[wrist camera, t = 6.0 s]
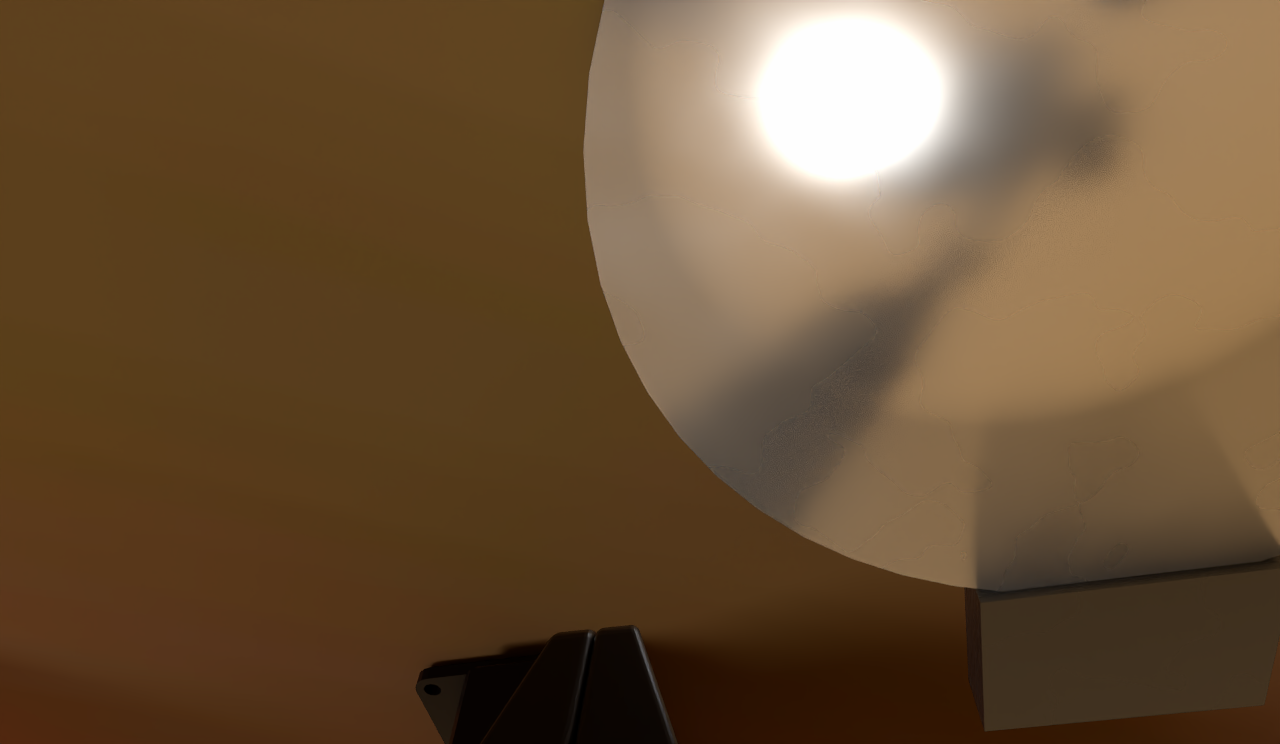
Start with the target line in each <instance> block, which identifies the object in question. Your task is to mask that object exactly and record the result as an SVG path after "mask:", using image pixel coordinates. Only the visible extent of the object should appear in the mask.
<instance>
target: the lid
mask: <svg viewBox="0 0 1280 744" xmlns="http://www.w3.org/2000/svg"><path fill="white" fill-rule="evenodd" d="M584 165H585V182H586V199H587V215H588V224H589V229H590V234H591V239H592V244H593V249H594V254H595V259H596V264H597V269H598V274H599V279H600V284H601V287H602V289H603V292H604V295H605V298H606V301H607V304H608V306H609V309H610V312H611V315H612V318H613V321H614V323H615V326H616V329H617V332H618V335H619V337H620V340H621V343H622V345H623V346H624V348H625V350H626V352H627V354H628V356H629V358H630V360H631V362H632V364H633V366H634V367H635V369H636V371H637V373H638V375H639V377H640V379H641V381H642V383H643V385H644V387H645V388H646V390H647V392H648V394H649V395H650V396H651V398H652V399H653V401H654V402H655V403H656V405H657V406H658V408H659V409H660V410H661V412H662V413H663V415H664V416H665V417H666V419H667V420H668V421H669V423H670V424H671V426H672V427H673V428H674V430H675V431H676V433H677V434H678V435H679V437H680V438H681V439H682V440H683V441H684V442H685V443H686V444H687V445H688V446H689V447H690V448H691V449H692V451H693V452H694V453H695V454H696V455H697V456H698V457H699V458H700V459H701V460H702V461H703V462H704V463H705V464H706V465H707V466H708V467H709V468H710V469H711V470H712V471H713V473H714V474H715V475H716V476H717V477H719V478H720V479H721V480H722V481H724V482H725V483H726V484H727V485H729V486H730V487H731V488H732V489H734V490H735V491H736V492H737V493H739V494H740V495H741V496H742V497H744V498H745V499H746V500H747V501H749V502H750V503H751V504H752V505H754V506H755V507H756V508H757V509H759V510H760V511H762V512H764V513H765V514H767V515H769V516H770V517H772V518H774V519H775V520H777V521H778V522H780V523H782V524H783V525H785V526H787V527H788V528H790V529H792V530H793V531H795V532H797V533H798V534H800V535H801V536H803V537H805V538H808V539H810V540H812V541H814V542H816V543H818V544H821V545H823V546H825V547H827V548H829V549H832V550H834V551H836V552H838V553H840V554H843V555H845V556H847V557H849V558H852V559H855V560H858V561H861V562H864V563H867V564H870V565H873V566H876V567H879V568H882V569H885V570H888V571H891V572H894V573H898V574H901V575H905V576H909V577H914V578H919V579H924V580H928V581H933V582H938V583H942V584H947V585H952V586H958V587H964V589H965V611H966V633H967V655H968V677H969V683H970V686H971V689H972V693H973V696H974V699H975V702H976V705H977V709H978V712H979V715H980V718H981V722H982V725H983V728H984V731H994V730H1005V729H1015V728H1026V727H1037V726H1047V725H1058V724H1069V723H1079V722H1090V721H1100V720H1111V719H1122V718H1132V717H1143V716H1154V715H1164V714H1175V713H1186V712H1196V711H1207V710H1217V709H1228V708H1239V707H1249V706H1260V705H1264V704H1265V699H1266V695H1267V690H1268V686H1269V681H1270V677H1271V672H1272V668H1273V663H1274V659H1275V654H1276V650H1277V646H1278V641H1279V637H1280V0H605V1H604V6H603V11H602V15H601V20H600V25H599V30H598V35H597V39H596V44H595V49H594V54H593V59H592V64H591V68H590V73H589V85H588V98H587V111H586V125H585V138H584Z"/></svg>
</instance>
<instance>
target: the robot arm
mask: <svg viewBox="0 0 1280 744" xmlns="http://www.w3.org/2000/svg"><path fill="white" fill-rule="evenodd" d="M416 691H417V693H418V695H419V697H420V699H421V701H422V702H423V704H424V706H425V708H426V710H427V712H428V713H429V715H430V717H431V719H432V721H433V723H434V724H435V726H436V728H437V730H438V732H439V734H440V735H441V737H442V739H443V741H444V743H445V744H678V742H677V739H676V736H675V733H674V730H673V727H672V724H671V722H670V719H669V716H668V713H667V710H666V707H665V704H664V701H663V698H662V695H661V692H660V689H659V686H658V683H657V681H656V678H655V675H654V672H653V669H652V666H651V663H650V660H649V657H648V654H647V651H646V648H645V645H644V642H643V639H642V637H641V634H640V631H639V629H638V628H637V627H636V626H634V625H628V626H618V627H608V628H602V629H600V630H599V631H598V632H597V633H595V632H594V631H593V630H578V631H568V632H560V633H557V634H555V635H554V636H553V637H551V639H550V640H549V641H548V643H547V644H546V646H545V647H544V649H543V650H542V652H541V653H540V655H535V656H526V657H518V658H509V659H500V660H492V661H483V662H474V663H466V664H457V665H448V666H440V667H431V668H427V669H424V670H423V671H421V672H420V675H419V677H418V681H417V684H416Z"/></svg>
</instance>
